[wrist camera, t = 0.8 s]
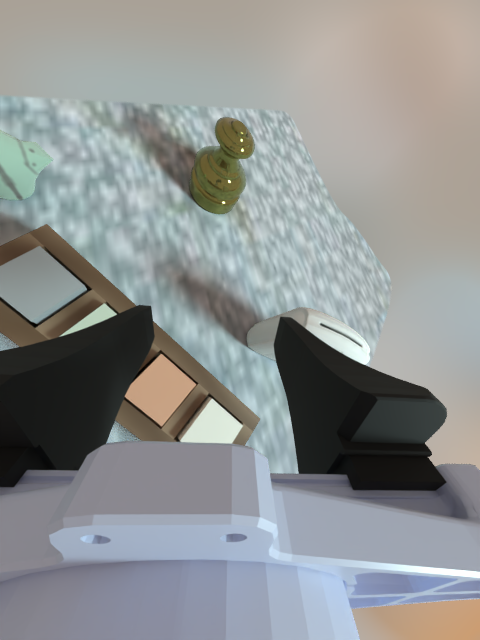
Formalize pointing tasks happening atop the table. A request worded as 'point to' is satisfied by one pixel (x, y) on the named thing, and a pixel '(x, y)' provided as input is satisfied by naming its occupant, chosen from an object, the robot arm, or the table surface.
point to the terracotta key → (160, 389)
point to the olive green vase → (222, 167)
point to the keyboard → (103, 291)
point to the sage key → (92, 319)
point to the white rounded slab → (317, 324)
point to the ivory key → (210, 425)
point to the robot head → (19, 166)
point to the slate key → (38, 285)
